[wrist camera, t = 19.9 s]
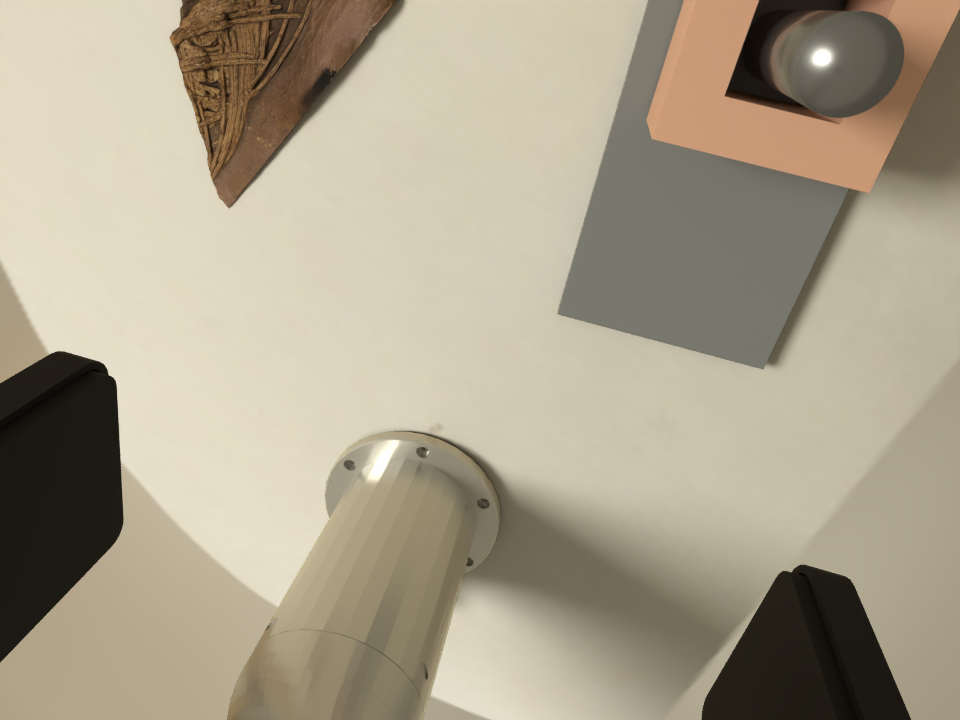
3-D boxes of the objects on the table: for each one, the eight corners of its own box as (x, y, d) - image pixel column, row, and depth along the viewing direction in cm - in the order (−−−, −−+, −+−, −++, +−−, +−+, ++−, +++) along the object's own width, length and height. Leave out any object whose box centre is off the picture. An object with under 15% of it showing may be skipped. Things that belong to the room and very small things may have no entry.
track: (760, 361, 39) (763, 369, 38) (558, 307, 40) (557, 314, 39) (1009, -170, 27) (1022, -176, 26) (716, -233, 28) (719, -241, 27)
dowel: (799, 85, 32) (881, 124, 21) (733, 77, 32) (782, 111, 22) (821, 13, 30) (921, 17, 20) (752, 6, 31) (814, 5, 20)
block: (828, 165, 33) (869, 193, 27) (646, 119, 33) (652, 139, 28) (924, -48, 28) (994, -63, 23) (714, -96, 29) (735, -121, 24)
